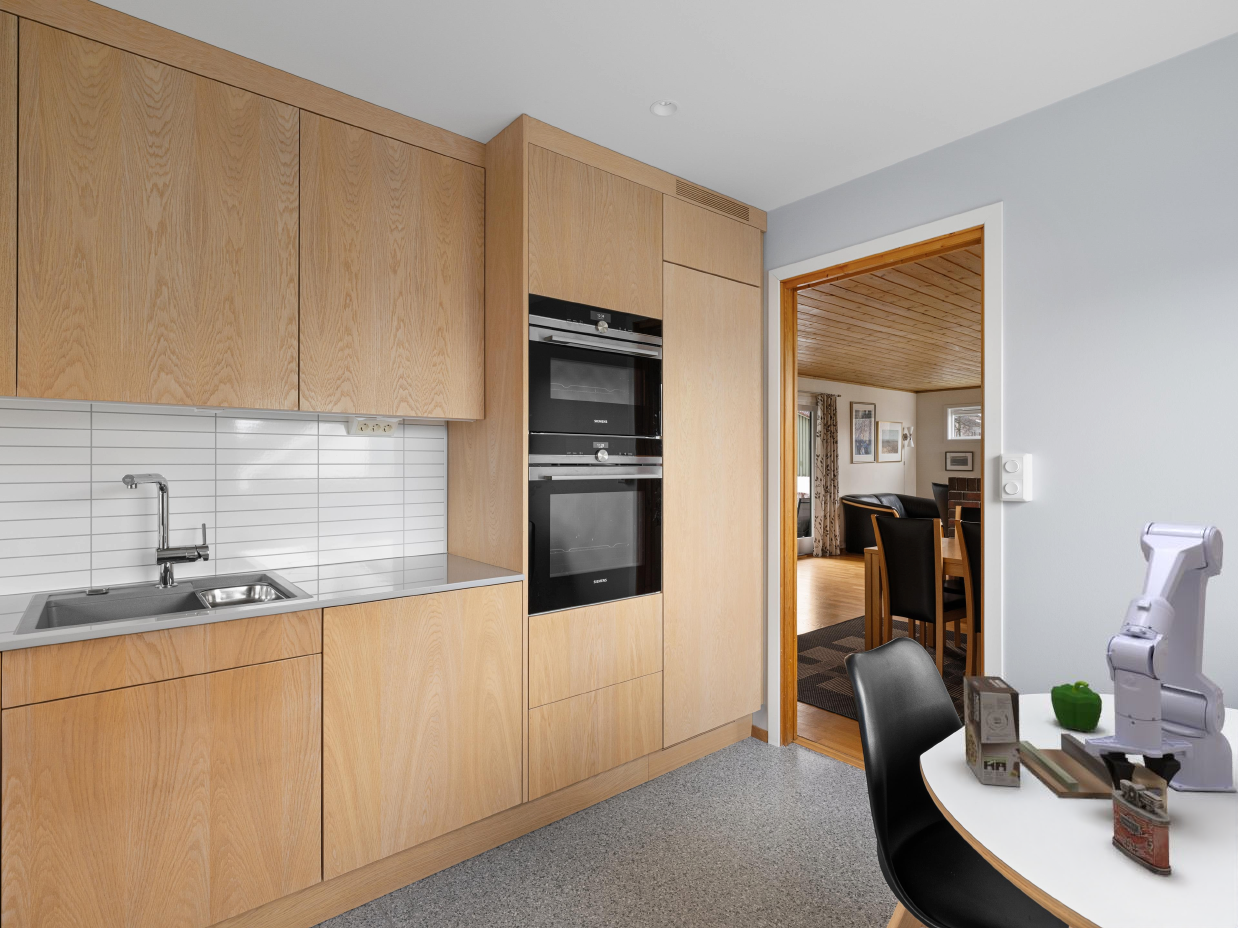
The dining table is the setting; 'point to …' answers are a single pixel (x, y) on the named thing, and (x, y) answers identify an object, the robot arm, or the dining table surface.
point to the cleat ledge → (1068, 769)
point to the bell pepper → (1076, 706)
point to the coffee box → (992, 730)
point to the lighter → (1141, 827)
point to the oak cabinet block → (1150, 783)
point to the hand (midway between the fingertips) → (1139, 800)
